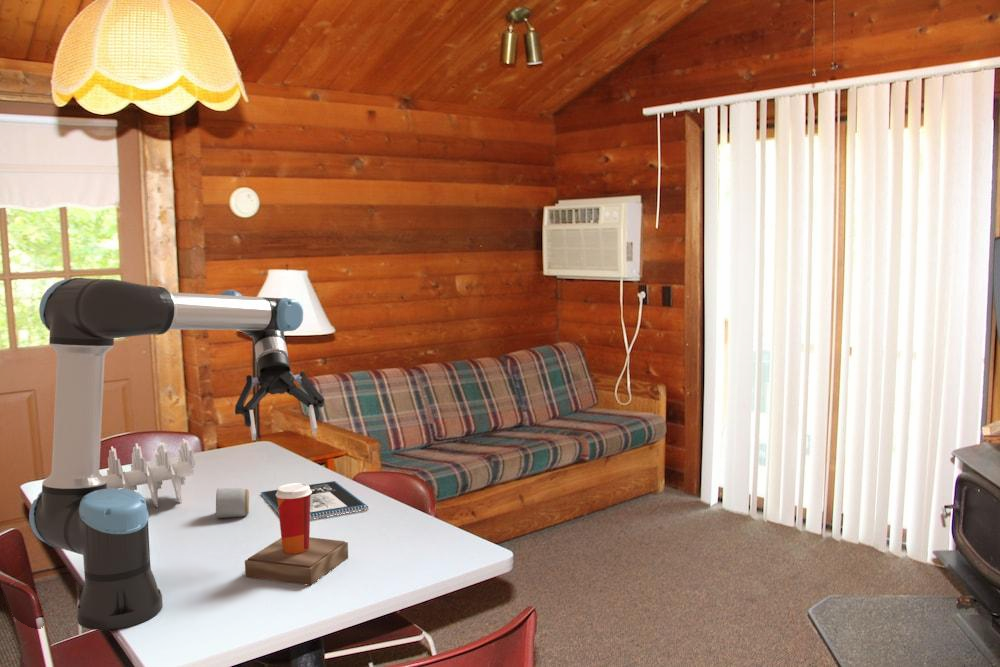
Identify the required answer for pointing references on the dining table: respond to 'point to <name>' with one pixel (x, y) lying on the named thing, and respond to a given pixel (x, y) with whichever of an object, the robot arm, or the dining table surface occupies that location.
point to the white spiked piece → (151, 470)
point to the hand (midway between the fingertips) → (285, 434)
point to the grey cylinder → (232, 502)
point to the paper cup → (294, 517)
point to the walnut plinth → (297, 561)
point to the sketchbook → (325, 500)
